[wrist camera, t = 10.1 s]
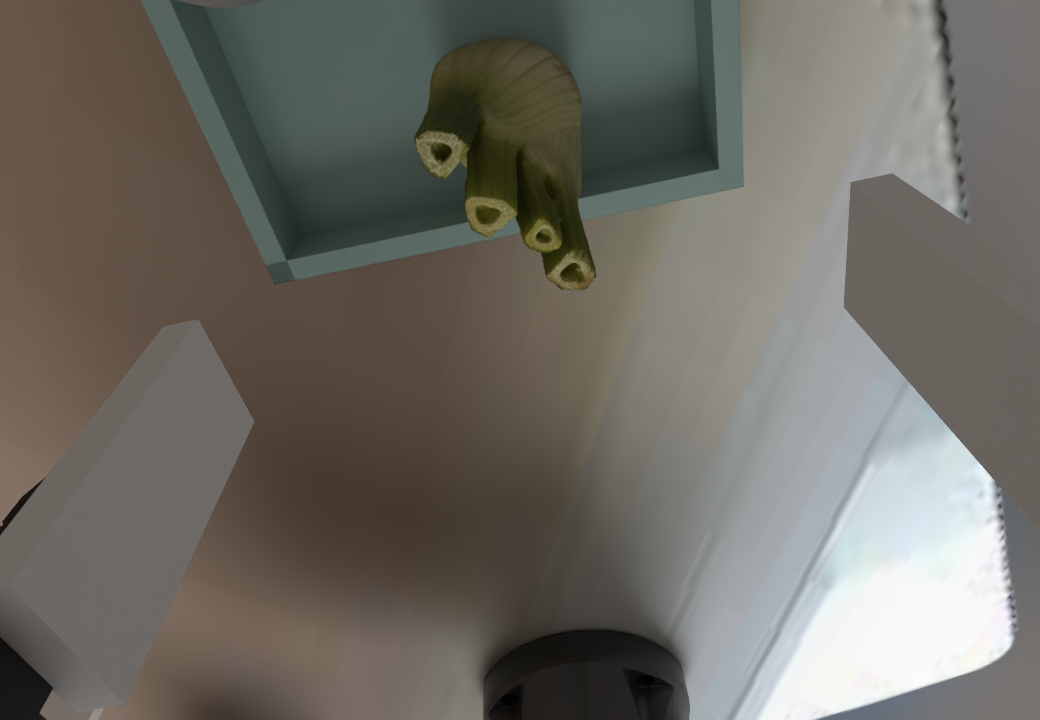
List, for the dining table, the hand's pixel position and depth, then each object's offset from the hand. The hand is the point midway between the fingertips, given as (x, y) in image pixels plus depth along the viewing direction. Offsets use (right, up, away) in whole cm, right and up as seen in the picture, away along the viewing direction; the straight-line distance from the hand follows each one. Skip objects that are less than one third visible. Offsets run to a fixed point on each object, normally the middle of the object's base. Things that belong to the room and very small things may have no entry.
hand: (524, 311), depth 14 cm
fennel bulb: (0, +9, +13) cm, 16 cm away
